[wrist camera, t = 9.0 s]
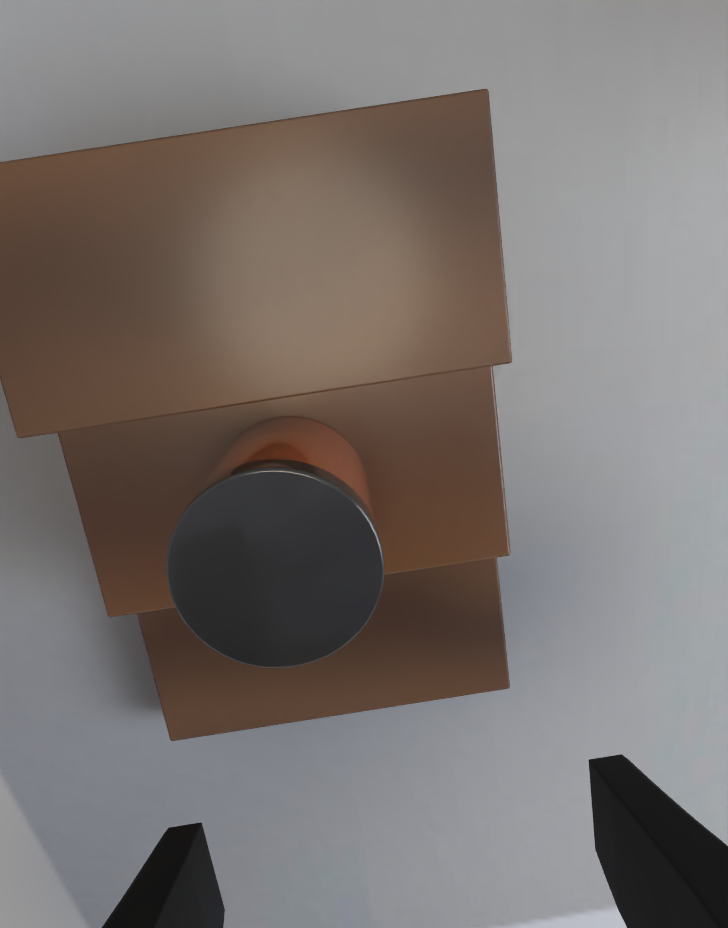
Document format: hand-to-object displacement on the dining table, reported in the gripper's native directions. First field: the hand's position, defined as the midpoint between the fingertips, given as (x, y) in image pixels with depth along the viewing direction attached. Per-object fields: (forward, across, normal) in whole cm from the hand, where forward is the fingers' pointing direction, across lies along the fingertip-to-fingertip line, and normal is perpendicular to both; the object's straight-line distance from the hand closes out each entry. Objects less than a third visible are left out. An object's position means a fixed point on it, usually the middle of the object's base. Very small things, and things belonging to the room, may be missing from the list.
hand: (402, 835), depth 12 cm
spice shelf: (+10, +2, -5) cm, 11 cm away
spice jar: (+7, +2, -5) cm, 8 cm away
